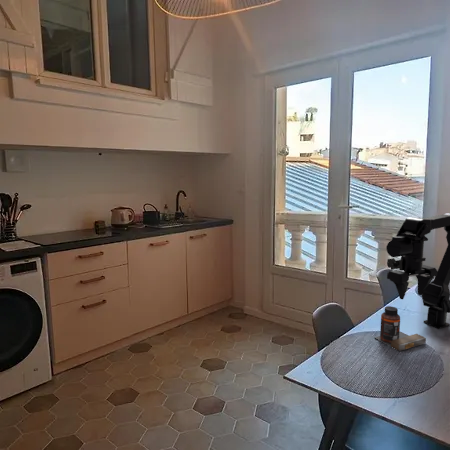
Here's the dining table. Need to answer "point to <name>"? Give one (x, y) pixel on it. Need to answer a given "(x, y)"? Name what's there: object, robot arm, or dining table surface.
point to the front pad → (390, 343)
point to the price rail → (408, 342)
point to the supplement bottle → (390, 324)
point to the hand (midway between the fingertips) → (410, 297)
